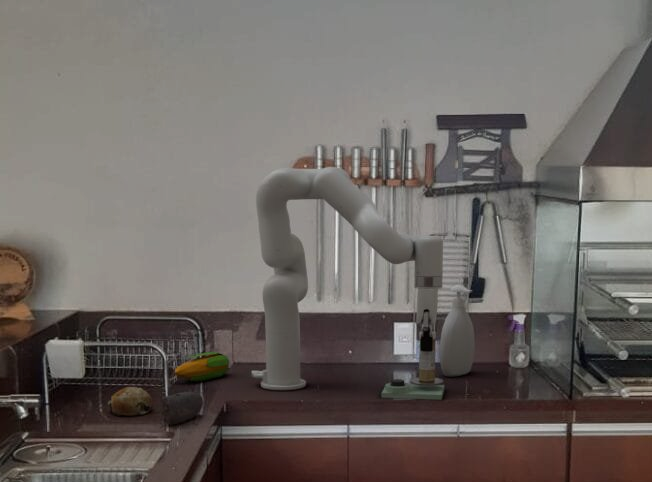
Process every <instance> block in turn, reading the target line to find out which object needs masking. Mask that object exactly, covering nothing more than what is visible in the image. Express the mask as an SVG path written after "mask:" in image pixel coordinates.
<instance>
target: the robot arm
mask: <svg viewBox="0 0 652 482" xmlns="http://www.w3.org/2000/svg"><path fill="white" fill-rule="evenodd" d="M299 200H300V201H301V200H323V201H324V202H326V203H327V204H328V205H329V206H330V207H331V208H332V209H333V210H335V211H336V212H337V213H338V214H339V215H340V216H341V217H342V218H343V219H344V220H346V222H348V223H349V225H351V227H352V228H353V230H355V231H356V233H357V234H358V235H359V236H360V237H361V239H363V240H364V241H365V242H366V243H367V245H369V246H370V247H371V248H372V249H373V250H374V251H375V252H376V253H377V254H378V255H380V257H381V258H383V260H385V261H386V262H388V263H390V264H392V265H401V264H404V263H408V262H414V276H413V277H414V281H413V282H414V283H413V285H414V286H413V288H414V289H417V295H416V317H415V318H416V319H415V321H416V322H415V325H416V326H420V325H421V330H420V332H421V349H420V348H419V350H421V351H424V352H432V350H433V337H432V331H434V332H435V330H434V329H435V324H436V323H437V316H438V304H439V303H438V302H439V301H438V300H439V299H438V298H439V289H443V279H444V277H443V276H444V275H443V272H444V269H443V268H444V240H443V238H442V237H441V236H439V235H412V234H405V233H399V232H397V230H395V229H394V227H392V226H391V225H390V224H389V223H388V222H387V221H386V220H385V218H383V217H382V215H381V214H380V212H379V211H378V208H377V205H376V204H375V203H374V200H372V199H371V198H370V197H369V196H368V195H367V194H366V193H365V192H364V191H362V190H361V189H360V188H359V187H358V186H357V185H356V184H355V183H354V182H353V181H352V179H351V176H350V174H349V173H348V172H347V170H344V169H343V168H341V167H336V166H326V167H324V168H292V167H282V168H277V169H275V170H273V171H272V172H270V173H268V174H267V175H266V176H264V178H263V179H262V180H261V181H260V183H259V185H258V188H257V190H256V196H255V204H256V205H255V206H256V213H257V221H258V222H257V223H258V233H259V241H260V251H261V257H262V260H263V262H264V263H265V265H266V266H268V267H269V268H272V269H273V272H274V274H273V275H271V276H269V277H268V279H266V281H265V283H264V285H263V288H262V304H263V311H264V320H265V323H264V328H265V329H264V330H265V369H262V370H251V375H250V376H251V378H253V379H261V382H260V387H261V388H262V389H266V390H270V391H294V390H299V389H304V388H305V387H306V386H307V381H306V380H305V379H303V378H301V319H300V318H301V317H300V311H299V303H300V302H302V301H303V300H304V298H305V297H306V296H307V294H308V290H309V281H308V279H309V278H308V270H307V262H306V254H305V248H304V245H303V242H302V241H301V239H300V238H299V237H298V236H297V235H296V234H294V233H292V230H291V219H290V214H289V211H288V205H287V204H288V202H289V201H299Z"/></svg>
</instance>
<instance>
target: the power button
mask: <svg viewBox="0 0 652 482" xmlns="http://www.w3.org/2000/svg"><path fill="white" fill-rule="evenodd" d="M390 383H391V386H394V387H401V386H404V383H405V380H404V379H398V378H395V379H394V378H393V379H391V380H390Z"/></svg>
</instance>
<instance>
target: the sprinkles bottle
mask: <svg viewBox="0 0 652 482" xmlns="http://www.w3.org/2000/svg"><path fill="white" fill-rule="evenodd" d="M432 337H433V350H432V352H424V351H421V350H420V349H421V331H419V334H418V339H419V352H418V353H419V354H418V355H419V356H418V378H419V380H420V381H424V382H432V381H434V380H435V378H436V377H435V376H436V354H437V353H436V351H437V350H436V341H437V332H436V331H435V330H434V331H432Z"/></svg>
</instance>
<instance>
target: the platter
mask: <svg viewBox="0 0 652 482" xmlns="http://www.w3.org/2000/svg"><path fill="white" fill-rule="evenodd" d="M410 384H415V385H421V386H435V385H444V380H443V379H442V378H438V377H435V380H434V381H432V382H424V381H420V380H419V377H414V378H413V377H412V378H411V379H410Z"/></svg>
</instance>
